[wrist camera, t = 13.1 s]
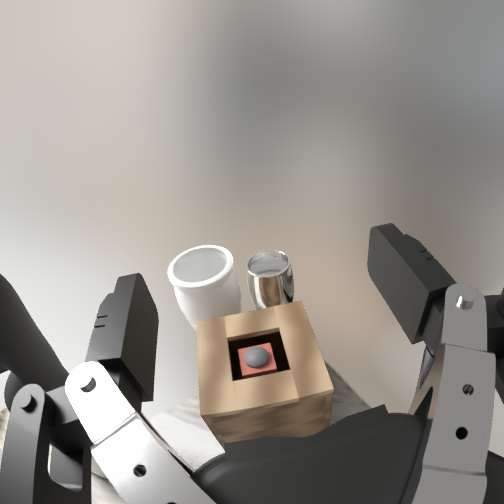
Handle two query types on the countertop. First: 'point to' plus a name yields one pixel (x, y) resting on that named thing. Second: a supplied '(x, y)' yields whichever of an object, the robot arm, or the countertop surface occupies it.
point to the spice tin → (257, 361)
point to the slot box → (267, 386)
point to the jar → (205, 283)
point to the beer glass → (269, 278)
